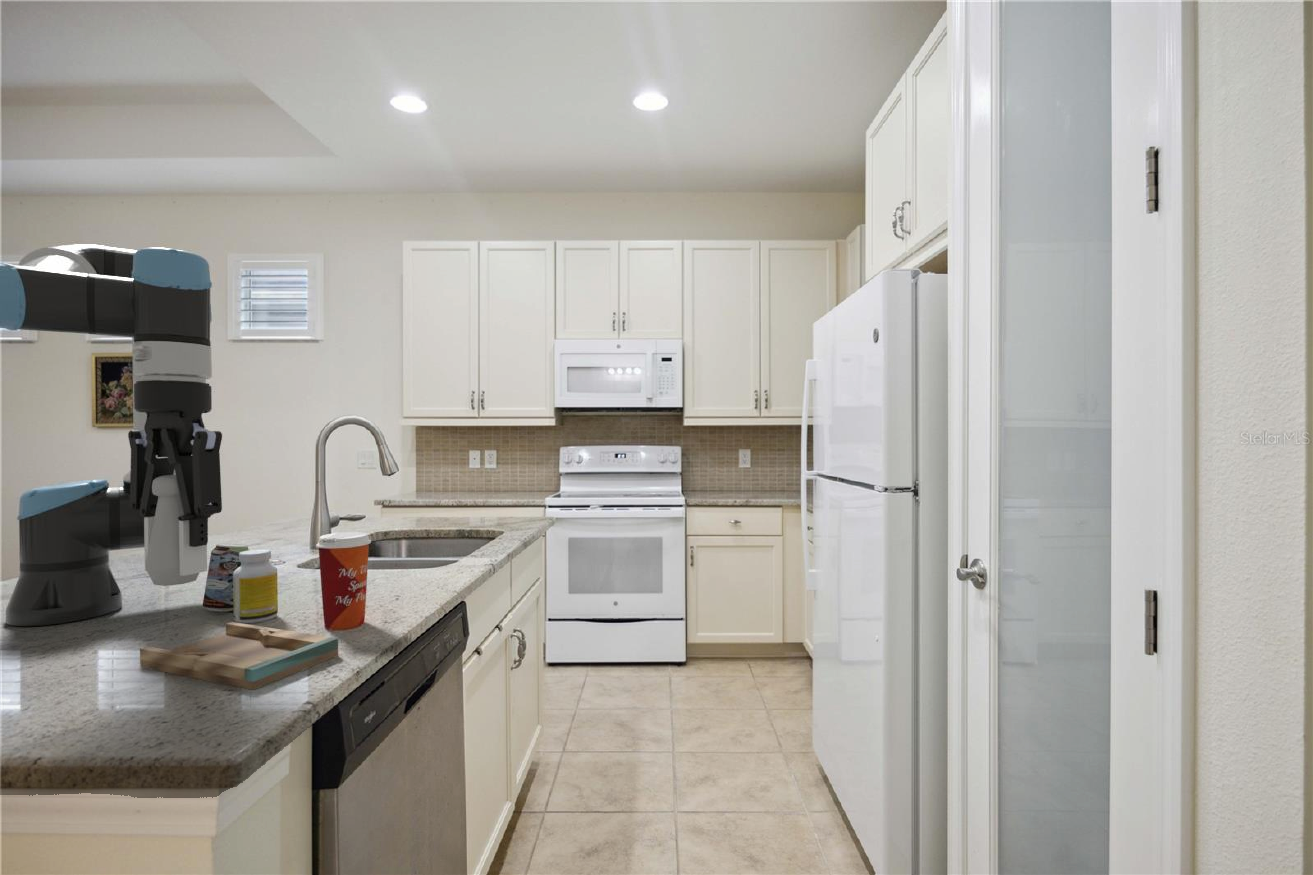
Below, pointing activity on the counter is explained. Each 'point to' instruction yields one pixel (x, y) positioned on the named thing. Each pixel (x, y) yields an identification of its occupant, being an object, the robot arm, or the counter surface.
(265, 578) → the pill bottle
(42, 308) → the robot arm
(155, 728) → the counter surface
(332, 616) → the coffee cup
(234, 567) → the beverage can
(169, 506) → the salt shaker
